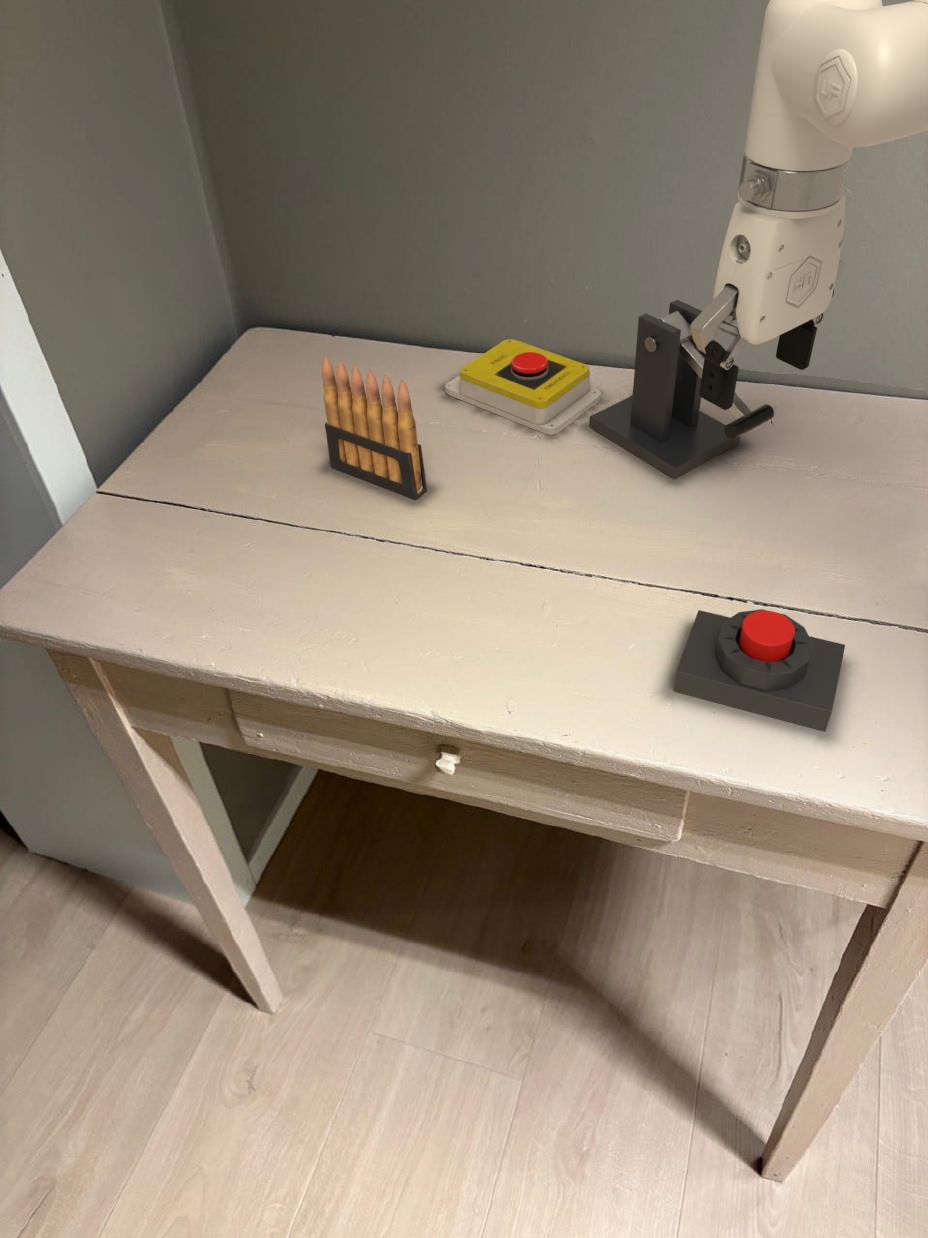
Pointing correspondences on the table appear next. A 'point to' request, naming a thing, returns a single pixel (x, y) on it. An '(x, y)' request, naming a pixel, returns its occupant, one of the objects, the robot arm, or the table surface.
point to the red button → (766, 636)
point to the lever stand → (664, 404)
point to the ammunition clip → (372, 431)
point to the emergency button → (527, 386)
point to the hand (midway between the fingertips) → (754, 382)
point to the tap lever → (739, 409)
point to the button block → (760, 672)
